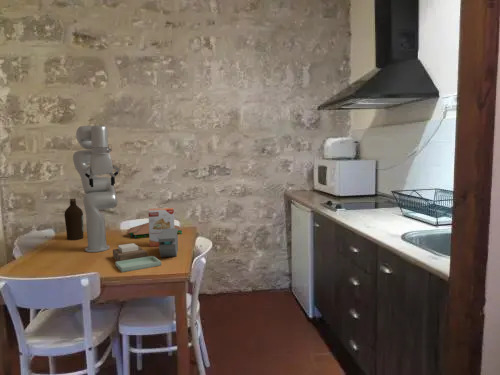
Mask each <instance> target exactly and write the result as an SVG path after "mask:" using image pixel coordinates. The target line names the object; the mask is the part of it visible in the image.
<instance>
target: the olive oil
mask: <svg viewBox="0 0 500 375" xmlns="http://www.w3.org/2000/svg"><path fill="white" fill-rule="evenodd" d="M63 217H64V222H65V230H66V231H65V233H66V239H67V240H68V241H77V240H82V239H83V238H84V212H83V210H82V208H80V207H79V206H78V205H77V201H76V198H69V206H68V207H67V208H66V209H65V211H64V215H63Z"/></svg>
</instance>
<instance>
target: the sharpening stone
mask: <svg viewBox="0 0 500 375" xmlns="http://www.w3.org/2000/svg"><path fill="white" fill-rule="evenodd" d="M177 232H179V231H178V228H171V229H163V230H162V232H161V235H160V237H159V242H160V244H159V246H158V251H159V255H160V257H161V258H170V257H171V258H173V257H178V256H177V255H178V250H179V249H178V248H179V247H178V246H179V243H178V242H179V236H178V233H177Z"/></svg>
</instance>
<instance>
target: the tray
mask: <svg viewBox="0 0 500 375" xmlns="http://www.w3.org/2000/svg"><path fill="white" fill-rule="evenodd" d="M114 263H115V267H116V268H117V269H118V270H119V271H120V272H121V273H126V272H133V271H137V270H138V271H139V270H143V269H150V268H154V267H159V266H160V267H161V266H162V261H161V260H160V259H158V258H157V257H156V256H154V255H148V257H142V258H136V259H130V260H124V261H115V262H114Z"/></svg>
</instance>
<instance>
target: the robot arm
mask: <svg viewBox="0 0 500 375" xmlns="http://www.w3.org/2000/svg"><path fill="white" fill-rule="evenodd" d="M75 138H76V141H77V142H78V143H79V145H80V147H82V148H83V149H82V150H77V151H75V152H74V153H73V156H72V160H73V165H74V168H75V170H76V171H77V173H78V174H79V177H80V180H81V185H82V189H83V192H84V193H85V194H84V195H83V199H82V203H83V207H84V211H85V219H86V234H87V235H86V236H87V246H86V247H85V248H84V251H85V252H87V253H97V252H98V253H99V252H103V251H104V252H105V251H107V250H109V249H110V245H109V244H107V232H106V231H107V230H106V219H105V218H106V217H105V215H104V214H103V212H101V211H100V210H107V209H115V208H116V207H117V206H118V196H117V192H116V188H115V184H116V179H115V178H116V177H117V176H118V174H119V172H120V170H121V168H120V167H117V166H115V165H114V164H113V162H112V160H113V159H112V156H111V153H110V152H112V150H113V149H112V148H109V130H108V127H107V126H105V125H100V124H99V125H98V124H97V125H81V126H78V127H77V129H76V134H75ZM114 170H115V172H114ZM98 175H109V176H111V177H109V176H108V177H107V176H103V177H101V176H99V177H98Z"/></svg>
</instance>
